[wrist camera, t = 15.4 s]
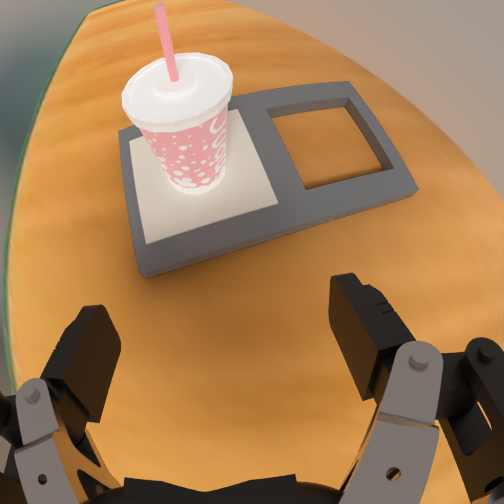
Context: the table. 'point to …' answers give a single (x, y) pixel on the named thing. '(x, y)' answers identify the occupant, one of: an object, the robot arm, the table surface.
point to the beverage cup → (182, 112)
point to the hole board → (251, 183)
